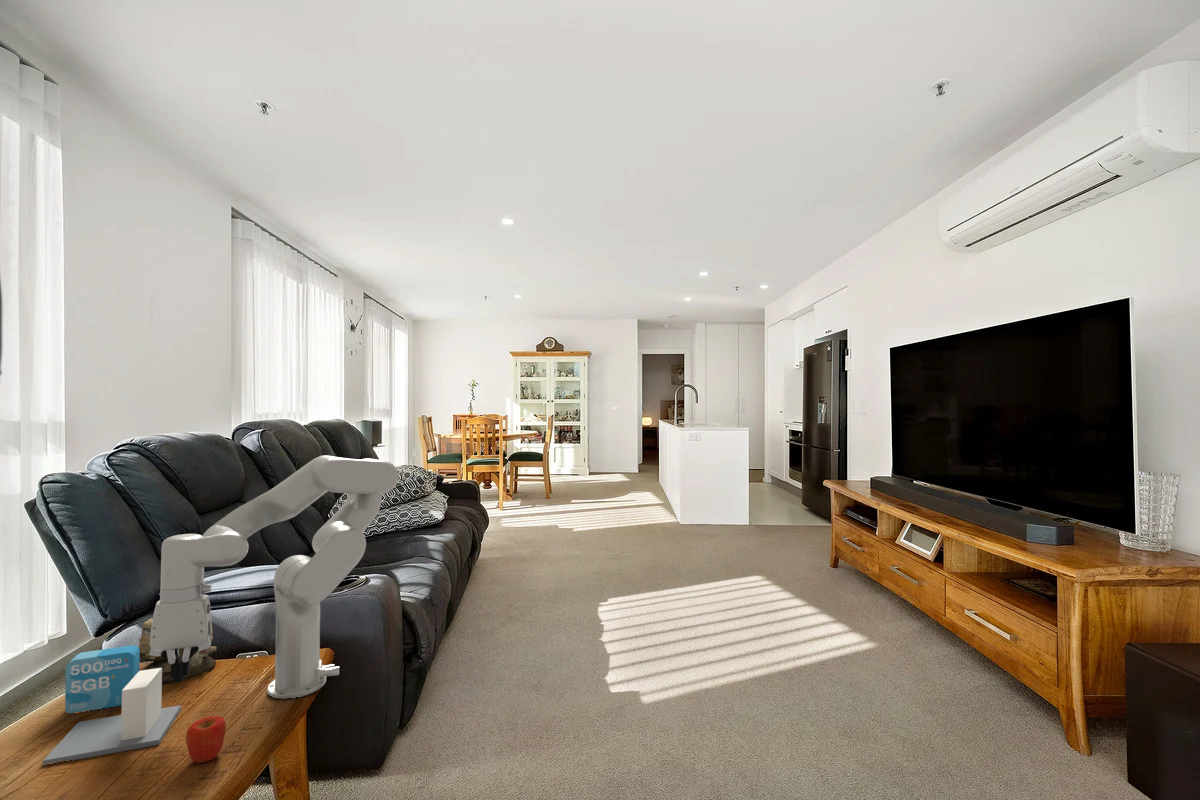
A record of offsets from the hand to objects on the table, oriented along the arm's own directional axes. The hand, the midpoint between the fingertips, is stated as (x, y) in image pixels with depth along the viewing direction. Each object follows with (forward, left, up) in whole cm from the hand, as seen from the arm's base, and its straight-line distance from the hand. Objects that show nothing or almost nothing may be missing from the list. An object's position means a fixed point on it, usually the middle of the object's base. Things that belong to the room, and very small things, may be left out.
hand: (179, 679), depth 120 cm
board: (+11, 0, -10) cm, 14 cm away
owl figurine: (+9, -28, -10) cm, 31 cm away
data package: (+19, -16, -10) cm, 27 cm away
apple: (-8, +16, -10) cm, 21 cm away
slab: (+6, 0, -9) cm, 11 cm away
